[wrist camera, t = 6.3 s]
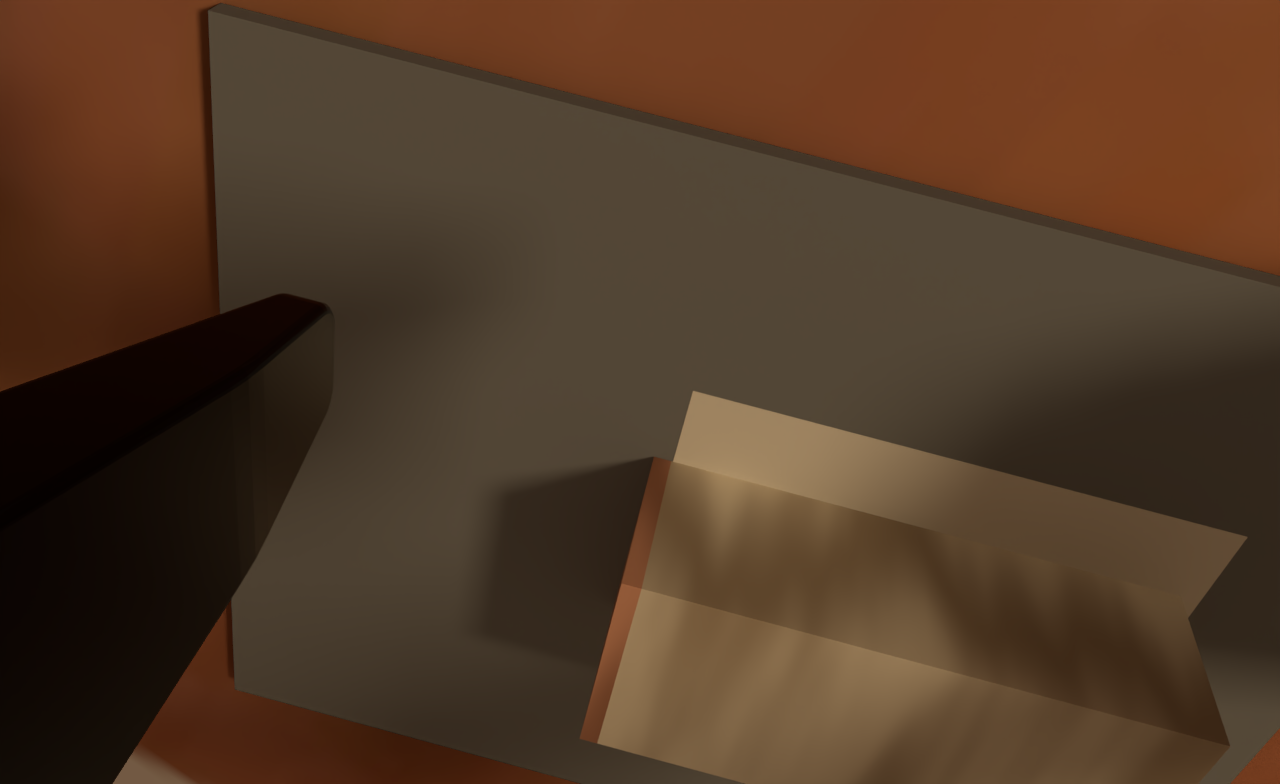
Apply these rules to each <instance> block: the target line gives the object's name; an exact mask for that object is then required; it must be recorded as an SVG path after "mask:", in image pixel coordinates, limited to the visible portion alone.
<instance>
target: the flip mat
mask: <svg viewBox="0 0 1280 784" xmlns="http://www.w3.org/2000/svg"><path fill="white" fill-rule="evenodd" d="M208 23H209V48H210V74H211V99H212V124H213V149H214V175H215V200H216V225H217V251H218V276H219V301H220V314H222V313H225V312H228V311H231V310H233V309H236V308H239V307H242V306H245V305H248V304H250V303H253V302H256V301H259V300H262V299H265V298H267V297H270V296H273V295H276V294H280V293H288V294H292V295H296V296H300V297H304V298H308V299H312V300H315V301H319V302H323V303H326V304H327V305H328V306H329V307H330V308H331V310H332V312H333V316H334V321H335V334H334V385H333V394H332V398H331V402H330V406H329V409H328V411H327V414H326V416H325V418H324V420H323V422H322V424H321V427H320V429H319V431H318V433H317V435H316V437H315V439H314V441H313V443H312V445H311V447H310V449H309V451H308V454H307V456H306V458H305V460H304V462H303V464H302V466H301V468H300V470H299V472H298V474H297V476H296V478H295V481H294V483H293V485H292V487H291V489H290V491H289V493H288V495H287V497H286V499H285V501H284V503H283V505H282V508H281V510H280V512H279V514H278V516H277V518H276V520H275V522H274V524H273V526H272V528H271V530H270V532H269V535H268V537H267V538H266V540H265V542H264V544H263V546H262V548H261V550H260V552H259V554H258V556H257V558H256V560H255V561H254V563H253V565H252V566H251V568H250V570H249V571H248V573H247V575H246V576H245V578H244V580H243V581H242V583H241V585H240V586H239V588H238V589H237V591H236V592H235V594H234V596H233V597H232V599H231V605H232V630H233V655H234V680H235V690H239V691H242V692H246V693H250V694H253V695H257V696H261V697H264V698H268V699H272V700H275V701H279V702H283V703H286V704H290V705H294V706H297V707H301V708H305V709H308V710H312V711H316V712H319V713H323V714H327V715H330V716H334V717H338V718H341V719H345V720H349V721H352V722H356V723H360V724H364V725H367V726H371V727H375V728H378V729H382V730H386V731H389V732H393V733H397V734H400V735H404V736H408V737H411V738H415V739H419V740H422V741H426V742H430V743H433V744H437V745H441V746H444V747H448V748H452V749H455V750H459V751H463V752H466V753H470V754H474V755H477V756H481V757H485V758H488V759H492V760H496V761H499V762H503V763H507V764H510V765H514V766H518V767H521V768H525V769H529V770H532V771H536V772H540V773H543V774H547V775H551V776H554V777H558V778H562V779H565V780H569V781H573V782H576V783H580V784H745V783H741V782H737V781H734V780H730V779H726V778H723V777H719V776H715V775H712V774H708V773H704V772H701V771H697V770H693V769H689V768H686V767H682V766H678V765H675V764H671V763H667V762H664V761H660V760H656V759H653V758H649V757H645V756H642V755H638V754H634V753H631V752H627V751H623V750H619V749H616V748H612V747H608V746H605V745H601V744H597V743H594V742H590V741H586V740H583V739H580V735H581V731H582V728H583V724H584V720H585V716H586V712H587V708H588V704H589V700H590V697H591V693H592V689H593V685H594V681H595V677H596V673H597V669H598V666H599V662H600V658H601V654H602V650H603V646H604V642H605V638H606V634H607V631H608V627H609V623H610V619H611V615H612V611H613V607H614V604H615V600H616V596H617V592H618V589H619V585H620V581H621V578H622V574H623V570H624V566H625V563H626V559H627V555H628V551H629V548H630V544H631V540H632V537H633V533H634V529H635V525H636V522H637V518H638V514H639V511H640V507H641V503H642V499H643V496H644V492H645V488H646V484H647V481H648V477H649V473H650V470H651V466H652V462H653V458H654V457H657V458H661V459H665V460H669V461H672V462H676V463H680V464H684V465H687V466H691V467H695V468H699V469H702V470H706V471H710V472H714V473H718V474H721V475H725V476H729V477H733V478H736V479H740V480H744V481H748V482H751V483H755V484H759V485H763V486H767V487H770V488H774V489H778V490H782V491H785V492H789V493H793V494H797V495H801V496H804V497H808V498H812V499H816V500H819V501H823V502H827V503H831V504H834V505H838V506H842V507H846V508H850V509H853V510H857V511H861V512H865V513H868V514H872V515H876V516H880V517H884V518H887V519H891V520H895V521H899V522H902V523H906V524H910V525H914V526H917V527H921V528H925V529H929V530H933V531H936V532H940V533H944V534H948V535H951V536H955V537H959V538H963V539H966V540H970V541H974V542H978V543H982V544H985V545H989V546H993V547H997V548H1000V549H1004V550H1008V551H1012V552H1016V553H1019V554H1023V555H1027V556H1031V557H1034V558H1038V559H1042V560H1046V561H1049V562H1053V563H1057V564H1061V565H1065V566H1068V567H1072V568H1076V569H1080V570H1083V571H1087V572H1091V573H1095V574H1098V575H1102V576H1106V577H1110V578H1114V579H1117V580H1121V581H1125V582H1129V583H1132V584H1136V585H1140V586H1144V587H1148V588H1151V589H1155V590H1159V591H1163V592H1166V593H1170V594H1174V595H1178V596H1181V598H1182V601H1183V604H1184V608H1185V611H1186V614H1187V617H1188V620H1189V623H1190V626H1191V629H1192V632H1193V635H1194V638H1195V641H1196V644H1197V647H1198V650H1199V653H1200V656H1201V659H1202V662H1203V665H1204V668H1205V671H1206V674H1207V677H1208V680H1209V683H1210V686H1211V689H1212V692H1213V695H1214V698H1215V701H1216V704H1217V707H1218V710H1219V713H1220V716H1221V719H1222V722H1223V725H1224V728H1225V731H1226V734H1227V737H1228V740H1229V743H1230V746H1231V747H1230V748H1229V749H1228V750H1227V751H1226V752H1225V754H1224V755H1223V756H1222V757H1221V758H1220V759H1219V760H1218V762H1217V763H1216V764H1215V765H1214V766H1213V767H1212V769H1211V770H1210V771H1209V772H1208V773H1207V774H1206V776H1205V777H1204V778H1203V779H1202V780H1201V781H1200V782H1199V784H1230V783H1231V782H1232V781H1233V780H1234V779H1235V777H1236V776H1237V775H1238V774H1239V773H1240V772H1241V771H1242V770H1243V768H1244V767H1245V766H1246V765H1247V764H1248V763H1249V762H1250V761H1251V759H1252V758H1253V757H1254V756H1255V755H1256V754H1257V753H1258V752H1259V751H1260V749H1261V748H1262V747H1263V746H1264V745H1265V744H1266V743H1267V742H1268V740H1269V739H1270V738H1271V737H1272V736H1273V735H1274V734H1275V733H1276V731H1277V730H1278V729H1279V728H1280V276H1277V275H1273V274H1269V273H1266V272H1262V271H1258V270H1254V269H1250V268H1246V267H1242V266H1238V265H1235V264H1231V263H1227V262H1223V261H1219V260H1215V259H1211V258H1207V257H1204V256H1200V255H1196V254H1192V253H1188V252H1184V251H1180V250H1176V249H1173V248H1169V247H1165V246H1161V245H1157V244H1153V243H1149V242H1145V241H1142V240H1138V239H1134V238H1130V237H1126V236H1122V235H1118V234H1114V233H1111V232H1107V231H1103V230H1099V229H1095V228H1091V227H1087V226H1083V225H1080V224H1076V223H1072V222H1068V221H1064V220H1060V219H1056V218H1052V217H1048V216H1045V215H1041V214H1037V213H1033V212H1029V211H1025V210H1021V209H1017V208H1014V207H1010V206H1006V205H1002V204H998V203H994V202H990V201H986V200H983V199H979V198H975V197H971V196H967V195H963V194H959V193H955V192H952V191H948V190H944V189H940V188H936V187H932V186H928V185H924V184H921V183H917V182H913V181H909V180H905V179H901V178H897V177H893V176H890V175H886V174H882V173H878V172H874V171H870V170H866V169H862V168H859V167H855V166H851V165H847V164H843V163H839V162H835V161H831V160H828V159H824V158H820V157H816V156H812V155H808V154H804V153H800V152H797V151H793V150H789V149H785V148H781V147H777V146H773V145H769V144H766V143H762V142H758V141H754V140H750V139H746V138H742V137H738V136H735V135H731V134H727V133H723V132H719V131H715V130H711V129H707V128H704V127H700V126H696V125H692V124H688V123H684V122H680V121H676V120H673V119H669V118H665V117H661V116H657V115H653V114H649V113H645V112H642V111H638V110H634V109H630V108H626V107H622V106H618V105H614V104H611V103H607V102H603V101H599V100H595V99H591V98H587V97H583V96H580V95H576V94H572V93H568V92H564V91H560V90H556V89H552V88H549V87H545V86H541V85H537V84H533V83H529V82H525V81H521V80H518V79H514V78H510V77H506V76H502V75H498V74H494V73H490V72H487V71H483V70H479V69H475V68H471V67H467V66H463V65H459V64H456V63H452V62H448V61H444V60H440V59H436V58H432V57H428V56H425V55H421V54H417V53H413V52H409V51H405V50H401V49H397V48H394V47H390V46H386V45H382V44H378V43H374V42H370V41H366V40H363V39H359V38H355V37H351V36H347V35H343V34H339V33H335V32H332V31H328V30H324V29H320V28H316V27H312V26H308V25H304V24H301V23H297V22H293V21H289V20H285V19H281V18H277V17H273V16H269V15H266V14H262V13H258V12H254V11H250V10H246V9H242V8H238V7H235V6H231V5H227V4H223V3H220V4H218V5H217V6H215V7H213V8H211V9H210V10H208Z"/></svg>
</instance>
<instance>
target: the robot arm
mask: <svg viewBox="0 0 1280 784" xmlns="http://www.w3.org/2000/svg"><path fill="white" fill-rule="evenodd" d="M334 334H335V321H334V316H333V312H332V310H331V308H330V307H329V306H328V305H327V304H326V303H323V302H319V301H315V300H312V299H308V298H304V297H300V296H296V295H292V294H288V293H280V294H276V295H273V296H270V297H267V298H265V299H262V300H259V301H256V302H253V303H250V304H248V305H245V306H242V307H239V308H236V309H233V310H231V311H228V312H225V313H222V314H219V315H216V316H214V317H211V318H208V319H205V320H202V321H199V322H197V323H194V324H191V325H188V326H185V327H182V328H179V329H177V330H174V331H171V332H168V333H165V334H162V335H160V336H157V337H154V338H151V339H148V340H145V341H143V342H140V343H137V344H134V345H131V346H128V347H126V348H123V349H120V350H117V351H114V352H111V353H109V354H106V355H103V356H100V357H97V358H94V359H92V360H89V361H86V362H83V363H80V364H77V365H75V366H72V367H69V368H66V369H63V370H60V371H58V372H55V373H52V374H49V375H46V376H43V377H40V378H38V379H35V380H32V381H29V382H26V383H23V384H21V385H18V386H15V387H12V388H9V389H6V390H4V391H1V392H0V784H113V782H114V781H115V779H116V777H117V776H118V774H119V773H120V771H121V770H122V768H123V767H124V765H125V763H126V762H127V760H128V759H129V757H130V756H131V754H132V753H133V751H134V749H135V748H136V746H137V745H138V743H139V742H140V740H141V739H142V737H143V735H144V734H145V732H146V731H147V729H148V728H149V726H150V725H151V723H152V721H153V720H154V718H155V717H156V715H157V714H158V712H159V711H160V709H161V707H162V706H163V704H164V703H165V701H166V700H167V698H168V697H169V695H170V693H171V692H172V690H173V689H174V687H175V686H176V684H177V683H178V681H179V679H180V678H181V676H182V675H183V673H184V672H185V670H186V669H187V667H188V665H189V664H190V662H191V661H192V659H193V658H194V656H195V655H196V653H197V651H198V650H199V648H200V647H201V645H202V644H203V642H204V641H205V639H206V637H207V636H208V634H209V633H210V631H211V630H212V628H213V627H214V625H215V623H216V622H217V620H218V619H219V617H220V616H221V614H222V613H223V611H224V609H225V608H226V606H227V605H228V603H229V602H230V600H231V599H232V597H233V596H234V594H235V592H236V591H237V589H238V588H239V586H240V585H241V583H242V581H243V580H244V578H245V576H246V575H247V573H248V571H249V570H250V568H251V566H252V565H253V563H254V561H255V560H256V558H257V556H258V554H259V552H260V550H261V548H262V546H263V544H264V542H265V540H266V538H267V537H268V535H269V532H270V530H271V528H272V526H273V524H274V522H275V520H276V518H277V516H278V514H279V512H280V510H281V508H282V505H283V503H284V501H285V499H286V497H287V495H288V493H289V491H290V489H291V487H292V485H293V483H294V481H295V478H296V476H297V474H298V472H299V470H300V468H301V466H302V464H303V462H304V460H305V458H306V456H307V454H308V451H309V449H310V447H311V445H312V443H313V441H314V439H315V437H316V435H317V433H318V431H319V429H320V427H321V424H322V422H323V420H324V418H325V416H326V414H327V411H328V409H329V406H330V402H331V398H332V394H333V385H334Z"/></svg>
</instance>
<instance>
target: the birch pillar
mask: <svg viewBox="0 0 1280 784" xmlns="http://www.w3.org/2000/svg"><path fill="white" fill-rule="evenodd" d="M580 739H583V740H586V741H590V742H594V743H597V744H601V745H605V746H608V747H612V748H616V749H619V750H623V751H627V752H631V753H634V754H638V755H642V756H645V757H649V758H653V759H656V760H660V761H664V762H667V763H671V764H675V765H678V766H682V767H686V768H689V769H693V770H697V771H701V772H704V773H708V774H712V775H715V776H719V777H723V778H726V779H730V780H734V781H737V782H741V783H745V784H1199V782H1200V781H1201V780H1202V779H1203V778H1204V777H1205V776H1206V774H1207V773H1208V772H1209V771H1210V770H1211V769H1212V767H1213V766H1214V765H1215V764H1216V763H1217V762H1218V760H1219V759H1220V758H1221V757H1222V756H1223V755H1224V754H1225V752H1226V751H1227V750H1228V749H1229V748H1230V747H1231V746H1230V743H1229V740H1228V737H1227V734H1226V731H1225V728H1224V725H1223V722H1222V719H1221V716H1220V713H1219V710H1218V707H1217V704H1216V701H1215V698H1214V695H1213V692H1212V689H1211V686H1210V683H1209V680H1208V677H1207V674H1206V671H1205V668H1204V665H1203V662H1202V659H1201V656H1200V653H1199V650H1198V647H1197V644H1196V641H1195V638H1194V635H1193V632H1192V629H1191V626H1190V623H1189V620H1188V617H1187V614H1186V611H1185V608H1184V604H1183V601H1182V598H1181V596H1178V595H1174V594H1170V593H1166V592H1163V591H1159V590H1155V589H1151V588H1148V587H1144V586H1140V585H1136V584H1132V583H1129V582H1125V581H1121V580H1117V579H1114V578H1110V577H1106V576H1102V575H1098V574H1095V573H1091V572H1087V571H1083V570H1080V569H1076V568H1072V567H1068V566H1065V565H1061V564H1057V563H1053V562H1049V561H1046V560H1042V559H1038V558H1034V557H1031V556H1027V555H1023V554H1019V553H1016V552H1012V551H1008V550H1004V549H1000V548H997V547H993V546H989V545H985V544H982V543H978V542H974V541H970V540H966V539H963V538H959V537H955V536H951V535H948V534H944V533H940V532H936V531H933V530H929V529H925V528H921V527H917V526H914V525H910V524H906V523H902V522H899V521H895V520H891V519H887V518H884V517H880V516H876V515H872V514H868V513H865V512H861V511H857V510H853V509H850V508H846V507H842V506H838V505H834V504H831V503H827V502H823V501H819V500H816V499H812V498H808V497H804V496H801V495H797V494H793V493H789V492H785V491H782V490H778V489H774V488H770V487H767V486H763V485H759V484H755V483H751V482H748V481H744V480H740V479H736V478H733V477H729V476H725V475H721V474H718V473H714V472H710V471H706V470H702V469H699V468H695V467H691V466H687V465H684V464H680V463H676V462H672V461H669V460H665V459H661V458H657V457H654V458H653V462H652V466H651V470H650V473H649V477H648V481H647V484H646V488H645V492H644V496H643V499H642V503H641V507H640V511H639V514H638V518H637V522H636V525H635V529H634V533H633V537H632V540H631V544H630V548H629V551H628V555H627V559H626V563H625V566H624V570H623V574H622V578H621V581H620V585H619V589H618V592H617V596H616V600H615V604H614V607H613V611H612V615H611V619H610V623H609V627H608V631H607V634H606V638H605V642H604V646H603V650H602V654H601V658H600V662H599V666H598V669H597V673H596V677H595V681H594V685H593V689H592V693H591V697H590V700H589V704H588V708H587V712H586V716H585V720H584V724H583V728H582V731H581V735H580Z"/></svg>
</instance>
